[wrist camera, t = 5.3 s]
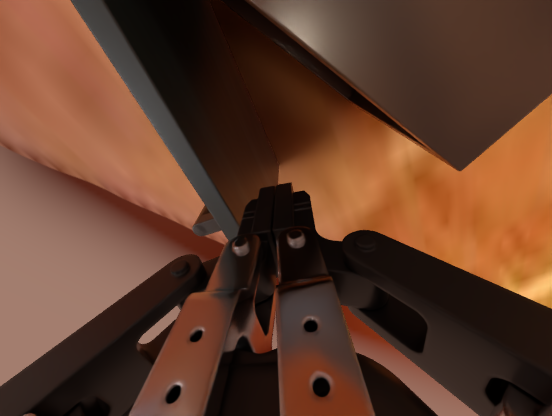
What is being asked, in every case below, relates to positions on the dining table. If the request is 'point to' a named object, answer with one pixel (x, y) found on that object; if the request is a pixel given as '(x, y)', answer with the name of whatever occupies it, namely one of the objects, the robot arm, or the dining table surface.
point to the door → (190, 99)
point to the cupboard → (422, 62)
